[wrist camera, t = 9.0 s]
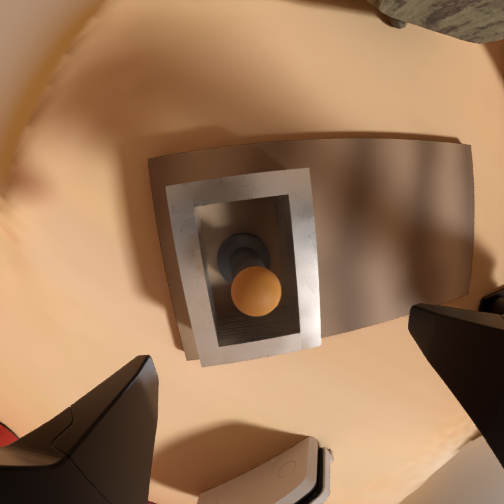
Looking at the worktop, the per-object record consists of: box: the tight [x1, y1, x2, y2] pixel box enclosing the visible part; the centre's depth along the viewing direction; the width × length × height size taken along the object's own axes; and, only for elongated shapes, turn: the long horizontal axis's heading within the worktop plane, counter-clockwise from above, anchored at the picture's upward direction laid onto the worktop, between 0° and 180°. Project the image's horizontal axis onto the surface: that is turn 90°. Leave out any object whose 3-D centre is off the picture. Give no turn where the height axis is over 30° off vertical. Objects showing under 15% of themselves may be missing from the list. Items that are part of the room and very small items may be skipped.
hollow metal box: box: [165, 168, 321, 367], centre depth 17 cm, size 7×10×4 cm
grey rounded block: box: [197, 436, 334, 504], centre depth 22 cm, size 17×5×10 cm, turn 131°
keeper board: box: [148, 138, 474, 361], centre depth 17 cm, size 26×14×8 cm, turn 97°
